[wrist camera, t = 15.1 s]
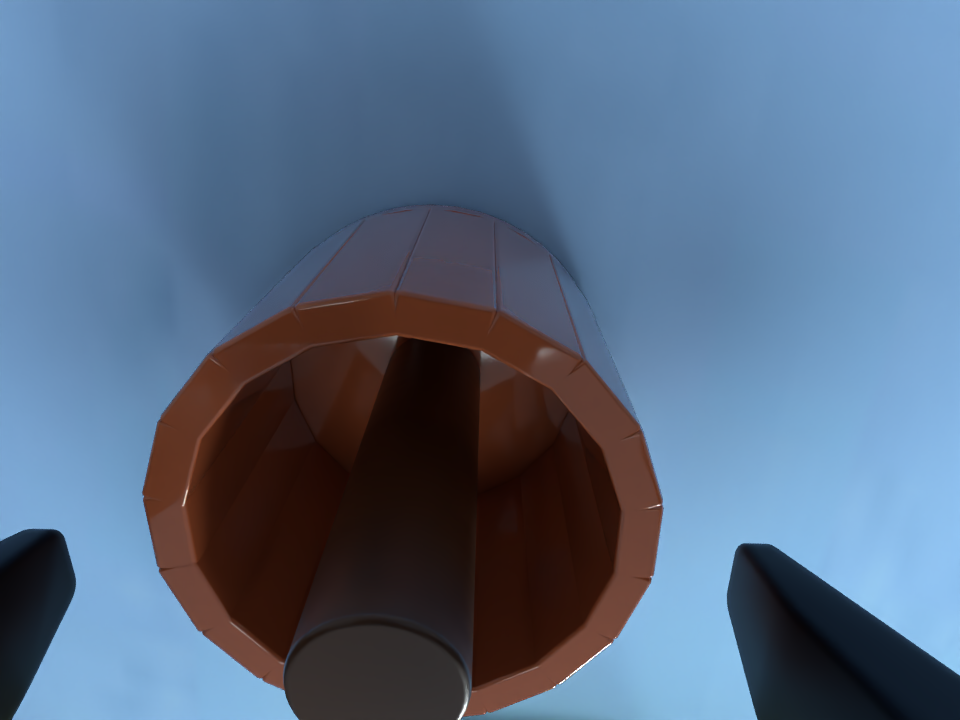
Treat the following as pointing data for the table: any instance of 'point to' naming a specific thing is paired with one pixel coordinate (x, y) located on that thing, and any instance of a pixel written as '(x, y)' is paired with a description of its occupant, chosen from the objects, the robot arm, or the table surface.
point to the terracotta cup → (342, 422)
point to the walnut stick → (399, 555)
